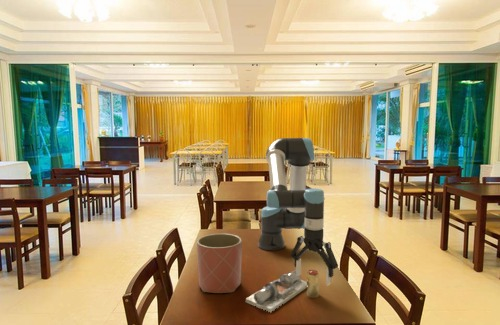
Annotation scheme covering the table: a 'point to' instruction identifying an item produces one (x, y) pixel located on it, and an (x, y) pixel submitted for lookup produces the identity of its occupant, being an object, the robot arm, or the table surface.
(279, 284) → the pipeline
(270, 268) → the table surface
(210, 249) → the planter
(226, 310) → the table surface
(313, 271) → the brass cylinder
